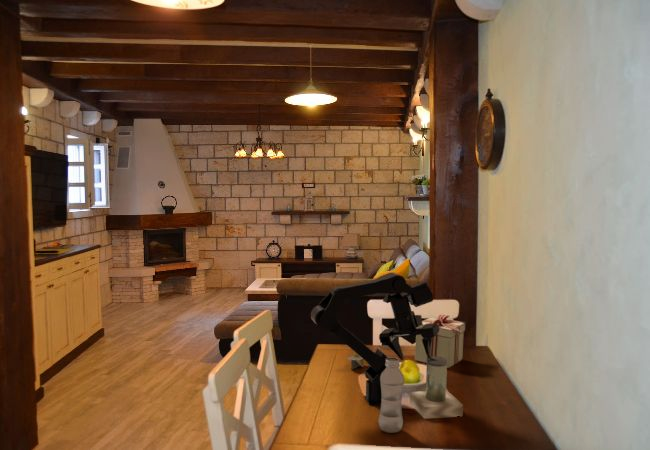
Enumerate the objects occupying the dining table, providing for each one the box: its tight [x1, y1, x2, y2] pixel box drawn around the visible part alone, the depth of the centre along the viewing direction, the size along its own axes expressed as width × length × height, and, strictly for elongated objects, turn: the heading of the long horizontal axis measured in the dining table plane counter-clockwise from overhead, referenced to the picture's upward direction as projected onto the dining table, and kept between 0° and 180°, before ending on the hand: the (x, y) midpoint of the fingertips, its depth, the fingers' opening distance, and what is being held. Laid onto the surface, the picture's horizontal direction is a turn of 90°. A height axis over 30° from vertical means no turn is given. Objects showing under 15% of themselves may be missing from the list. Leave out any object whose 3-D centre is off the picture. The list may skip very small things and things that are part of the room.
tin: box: [425, 356, 448, 402], centre depth 163 cm, size 6×6×12 cm
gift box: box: [414, 314, 467, 369], centre depth 212 cm, size 17×18×17 cm
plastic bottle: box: [378, 356, 405, 434], centre depth 147 cm, size 6×7×20 cm
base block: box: [409, 389, 464, 420], centre depth 163 cm, size 12×12×4 cm
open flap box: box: [347, 351, 365, 371], centre depth 201 cm, size 12×18×7 cm, turn 147°
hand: (415, 358), depth 170 cm, fingers open, 9 cm apart
